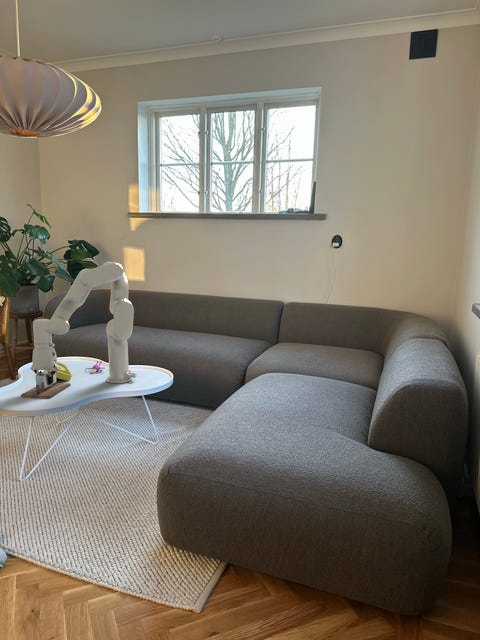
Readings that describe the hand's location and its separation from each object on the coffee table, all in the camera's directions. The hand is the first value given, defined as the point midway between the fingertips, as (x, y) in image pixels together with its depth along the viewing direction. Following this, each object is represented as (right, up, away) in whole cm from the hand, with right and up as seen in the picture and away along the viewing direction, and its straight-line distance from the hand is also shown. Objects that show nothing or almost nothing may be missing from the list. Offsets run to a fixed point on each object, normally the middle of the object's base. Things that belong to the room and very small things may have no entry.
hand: (46, 383), depth 199 cm
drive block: (0, -1, 0) cm, 1 cm away
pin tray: (0, -4, +1) cm, 4 cm away
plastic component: (-4, -1, +22) cm, 22 cm away
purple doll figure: (+12, +6, +39) cm, 41 cm away
